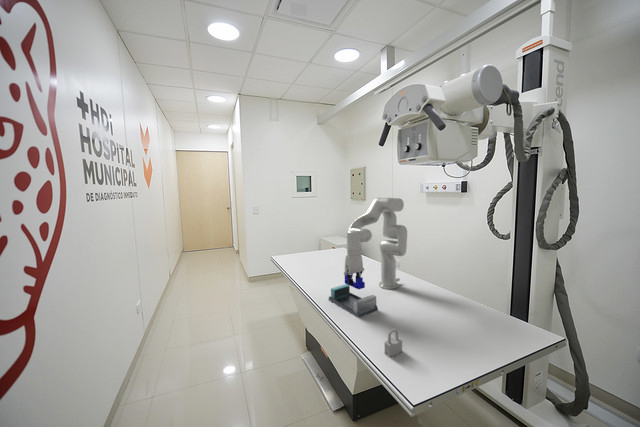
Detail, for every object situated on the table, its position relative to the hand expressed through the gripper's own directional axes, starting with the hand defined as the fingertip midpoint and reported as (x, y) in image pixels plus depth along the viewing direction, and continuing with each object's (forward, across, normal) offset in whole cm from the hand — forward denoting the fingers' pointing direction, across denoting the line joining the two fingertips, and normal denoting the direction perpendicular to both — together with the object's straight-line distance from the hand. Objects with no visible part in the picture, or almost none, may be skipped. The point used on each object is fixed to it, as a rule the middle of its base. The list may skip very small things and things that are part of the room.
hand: (354, 283), depth 148 cm
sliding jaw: (+12, 0, -13) cm, 18 cm away
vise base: (+13, 0, -2) cm, 14 cm away
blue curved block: (+1, 0, 0) cm, 1 cm away
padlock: (+14, +15, +41) cm, 46 cm away
